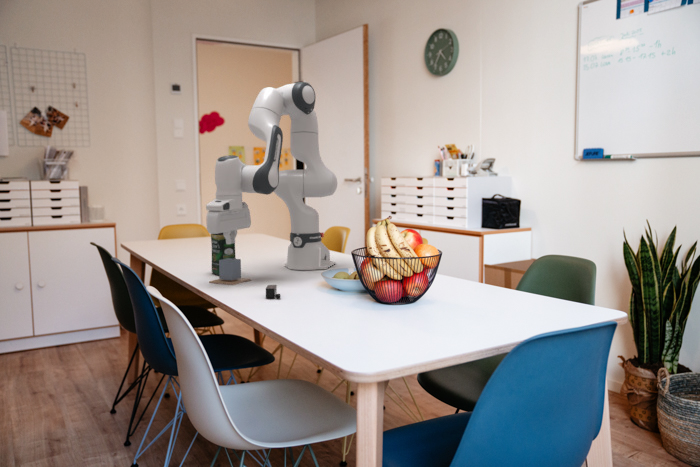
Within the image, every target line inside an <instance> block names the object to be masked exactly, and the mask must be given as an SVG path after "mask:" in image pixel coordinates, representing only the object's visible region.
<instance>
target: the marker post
mask: <svg viewBox="0 0 700 467" xmlns="http://www.w3.org/2000/svg"><path fill="white" fill-rule="evenodd" d="M249 281H251V278H247V277H241V278H239V279H235V280H222V279H220V278H217V279H214V280H213V279H212V280H210V281H208V282H209V284H219V285H220V284H221V285H230V286H235V285H238V284H242V283H246V282H249Z"/></svg>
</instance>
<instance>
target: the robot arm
mask: <svg viewBox="0 0 700 467" xmlns="http://www.w3.org/2000/svg"><path fill="white" fill-rule="evenodd" d="M315 105H316V92H315V90H314V87H313V86H312V85H311V84H310V83H309V82H306V81H305V82H304V81H297V82H295V83H294V82H293V83H287V84H284V85H282V86H280V87H279V86H278V87H277V88H275V87H271V86H269V87H268V86H267V87H264V88H262V89H260V91H259V93H258V95H257V96H256V98H255V101H254V102H253V104H252V106H251V107H252V108H251V110H250V113H249V116H248V120H247V125H248V128H249V131H250V132H251V133H252V134H253V135H254V136H255V137H256V138H257V139H259V140H261V141H263V142H265V143H266V147H265V153H264V159H263V162H262V163H260V164H258V165H254V164H252V165H251V164H250V165H249V164H246V163H244V162H242V161H241V160H240V156H238V155H231V154H230V155H223V156H220V157H217V159H216V162H215V167H214V183H215V186H216V192H215V198H214V199H213V200H211V201H209V202H208V203H207V204H206V205H205V209H206V211H207V212H206V230H207V232H208V233H209V234H210V235H211V234H218V233H223V235H224V237H225V239H226V244H233V243H235V244H236V238H237V234H238V230H243V229H248V228H250V227H251V225H252V220H251V211H250V208H249V205H248V204H247V203H246V201H243V193H246V194H247V193H249V194H261V195H271V194H272V193H273V192H274V194H275V195H276V196H277V197H278V198H280V199H281V200H282V202H284V203H285V205H286V207H287V209H288V212H289V213H288V214H289V218H290V233H289V241H290V244H289V245H288V248H287V256H286V257H287V259H286V260H287V261H286V263H284V267H285V268H287V269H288V270H295V271H313V270H315V271H316V270H327V269H329V268H331V267H333V266H335V265H336V264H337V262H336V261H333V260H331V255H330V250H329V248H328V247H327V246H326V245H325V244H324V243H323V242H322V238H324V237H325V234H324V232H320V218H319V217H320V216H319V213H318V211H317V210H316V209H315V208H313V207H312V206H309V205H307V204H306V203H305V202H304V199H305V198H324V197H329V196H333V195H334V193H335V192H336V191H337V188H338V179H337V176H336V175H335V173H334V172H333V171H332V170H330V168H328V167H327V166H326V165H325V163H324V162H323V160H322V157H321V154H320V145H319V124H318V117H317V112H316V111H315V110H314V108H315ZM283 116H289V118H290V131H289V132H290V133H289V134H290V136H289V139H290V141H289V143H290V144H289V145H290V147H289V148H290V152H289V153H290V155H291V156H292V157H293V158H294V159H296V160H297V161H299V162H302V164H305V166H306V168H305V169H284V170H280V163H281V158H282V157H281V156H282V148H283V142H284V141H283V140H284V138H283V137H284V136H283V130H282V129H281V127H280V122H281V119H282V117H283ZM230 234H231V235H230ZM335 263H336V264H335ZM334 264H335V265H334ZM332 265H333V266H332ZM330 266H331V267H330ZM328 267H329V268H328Z"/></svg>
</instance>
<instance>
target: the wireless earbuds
mask: <svg viewBox="0 0 700 467" xmlns="http://www.w3.org/2000/svg"><path fill="white" fill-rule="evenodd" d="M265 298H266V299H270V300H271V299H275V298H276V299H277V300H278V299H281V293H277V284H268V285H267V286H266V287H265Z"/></svg>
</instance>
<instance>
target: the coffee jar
mask: <svg viewBox="0 0 700 467" xmlns="http://www.w3.org/2000/svg"><path fill="white" fill-rule="evenodd" d="M230 235H231V234H230ZM210 240H211V241H210V242H211V273H212V274H215V275H216V276H217V275H218V276H219V260H223V259H228V258H231V259H237V257H236V242H235V243H233V244H226V239H225V237H224V235H223V233H218V234H211V233H210Z"/></svg>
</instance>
